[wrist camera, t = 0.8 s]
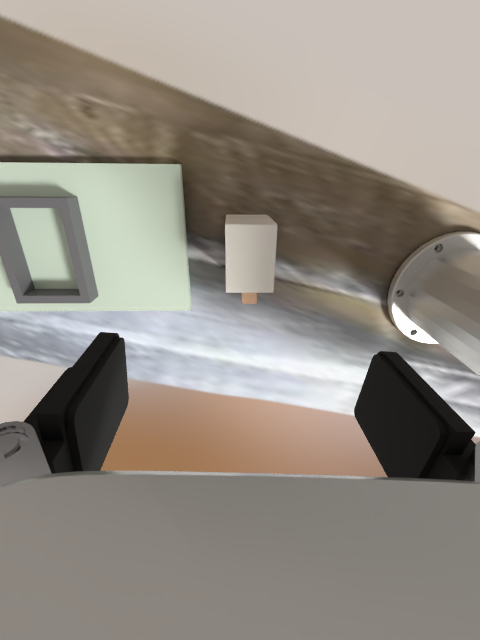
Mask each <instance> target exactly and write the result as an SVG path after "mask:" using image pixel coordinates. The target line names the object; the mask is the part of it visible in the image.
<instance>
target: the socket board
mask: <svg viewBox="0 0 480 640" xmlns="http://www.w3.org/2000/svg"><path fill="white" fill-rule="evenodd" d="M0 310H1V311H184V310H191V294H190V280H189V265H188V251H187V236H186V222H185V207H184V193H183V178H182V165H181V164H110V163H15V162H0Z"/></svg>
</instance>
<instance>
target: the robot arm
mask: <svg viewBox="0 0 480 640" xmlns="http://www.w3.org/2000/svg"><path fill="white" fill-rule="evenodd" d="M387 304H388V312H389V315H390V318H391V320H392V322H393V323H394V325H395V326H396V327H397V328H398V329H399V330H400V331H401V332H402V333H403V334H404V335H406V336H407V337H409V338H410V339H413V340H416V341H418V342H423V343H439V344H440V345H441V346H442V347H444V348H445V349H446V350H447V351H449V352H450V353H451V354H452V355H454V356H455V357H456V358H457V359H459V360H460V361H461V362H463V363H464V364H465V365H466V366H468V367H469V368H470V369H471V370H473V371H474V372H475V373H476V374H478V375H479V376H480V233H475V232H453V233H448V234H444V235H442V236H439V237H436V238H434V239H432V240H430V241H429V242H427V243H425V244H423V245H422V246H420V247H419V248H418V249H417V250H415V251H414V252H413V253H412V254H411V255H410V256H409V257H408V258H407V259H406V260H405V261H404V262H403V263H402V265H401V266H400V268H399V269H398V270H397V272H396V274H395V276H394V278H393V280H392V282H391V285H390V288H389V292H388V301H387ZM128 399H129V397H128V383H127V369H126V355H125V342H124V338H119V335H118V333H105V332H100V333H99V334H98V336H97V337H96V338H95V339H94V341H93V342H92V343H91V344H90V346H89V347H88V348H87V349H86V351H85V352H84V353H83V354H82V356H81V357H80V358H79V359H78V361H77V362H76V363H75V364H74V366H73V367H70V368H68V369H67V370H66V371H65V372H64V373H63V374H62V375H61V377H60V378H59V379H58V380H57V382H56V383H55V384H54V385H53V386H52V388H51V389H50V390H49V391H48V393H47V394H46V395H45V396H44V397H43V399H42V400H41V401H40V402H39V403H38V405H37V406H36V407H35V408H34V410H33V411H32V412H31V413H30V415H29V416H28V417H27V418H26V419H25V421H24V422H18V421H14V422H5V423H2V424H0V640H480V442H478V443H477V444H475V443H474V442H473V441H472V440H471V439H472V437H473V436H474V434H475V432H474V430H473V429H472V428H471V427H470V426H469V425H468V424H467V423H466V422H465V421H464V420H463V419H462V418H461V417H460V416H459V415H458V414H457V413H456V412H455V411H454V410H453V409H452V408H451V407H450V406H449V405H448V404H447V403H446V402H445V401H444V400H443V399H442V398H441V397H440V396H439V395H438V394H437V393H436V392H435V391H434V390H433V389H432V388H431V387H430V386H429V385H428V384H427V383H426V382H425V381H424V380H423V379H422V378H421V377H420V376H419V375H418V374H417V373H416V371H415V370H414V369H413V368H412V367H411V366H410V365H409V364H408V363H407V362H406V361H405V360H404V359H403V358H402V357H401V356H400V355H399V354H398V353H396V352H385V351H380V352H379V353H378V354H377V355H374V356H373V358H372V361H371V364H370V366H369V369H368V372H367V375H366V378H365V380H364V383H363V386H362V389H361V392H360V395H359V397H358V400H357V403H356V406H355V409H354V413H355V417H356V419H357V421H358V423H359V425H360V427H361V429H362V430H363V432H364V434H365V436H366V438H367V440H368V442H369V443H370V445H371V447H372V449H373V451H374V452H375V454H376V456H377V458H378V460H379V462H380V464H381V465H382V467H383V469H384V471H385V472H386V475H387V476H388V477H363V476H333V475H299V474H262V473H260V474H259V473H221V472H219V473H218V472H217V473H216V472H176V471H173V472H172V471H100V470H101V467H102V465H103V462H104V460H105V458H106V455H107V453H108V451H109V448H110V446H111V443H112V441H113V439H114V436H115V434H116V432H117V429H118V427H119V425H120V422H121V420H122V417H123V415H124V413H125V410H126V408H127V405H128Z"/></svg>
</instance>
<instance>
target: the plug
mask: <svg viewBox="0 0 480 640" xmlns="http://www.w3.org/2000/svg"><path fill="white" fill-rule="evenodd" d="M276 242H277V224H276V223H275V222H274V221H273V220H272V219H271V218H270V217H269V216H268V215H236V214H226V221H225V255H226V293H242V304H256V303H257V293H273V291H274V275H275V258H276Z"/></svg>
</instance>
